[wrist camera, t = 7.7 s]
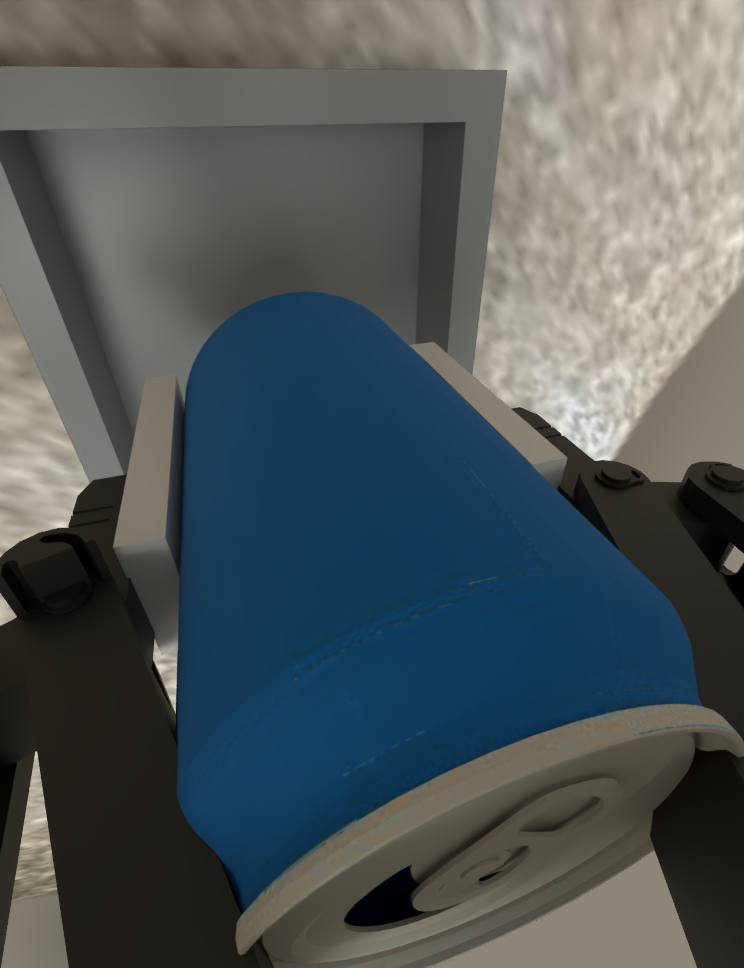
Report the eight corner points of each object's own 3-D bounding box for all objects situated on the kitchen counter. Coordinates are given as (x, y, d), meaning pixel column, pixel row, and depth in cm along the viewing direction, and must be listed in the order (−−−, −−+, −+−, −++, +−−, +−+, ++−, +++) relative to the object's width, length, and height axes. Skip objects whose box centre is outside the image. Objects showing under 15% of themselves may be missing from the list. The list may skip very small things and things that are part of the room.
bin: (-35, 79, 14) (-99, 66, 11) (450, 81, 17) (507, 70, 14) (130, 495, 23) (121, 552, 20) (428, 443, 26) (459, 484, 23)
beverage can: (139, 427, 13) (19, 1091, 4) (275, 225, 12) (614, 593, 2) (319, 515, 17) (472, 971, 8) (444, 373, 15) (837, 744, 6)
